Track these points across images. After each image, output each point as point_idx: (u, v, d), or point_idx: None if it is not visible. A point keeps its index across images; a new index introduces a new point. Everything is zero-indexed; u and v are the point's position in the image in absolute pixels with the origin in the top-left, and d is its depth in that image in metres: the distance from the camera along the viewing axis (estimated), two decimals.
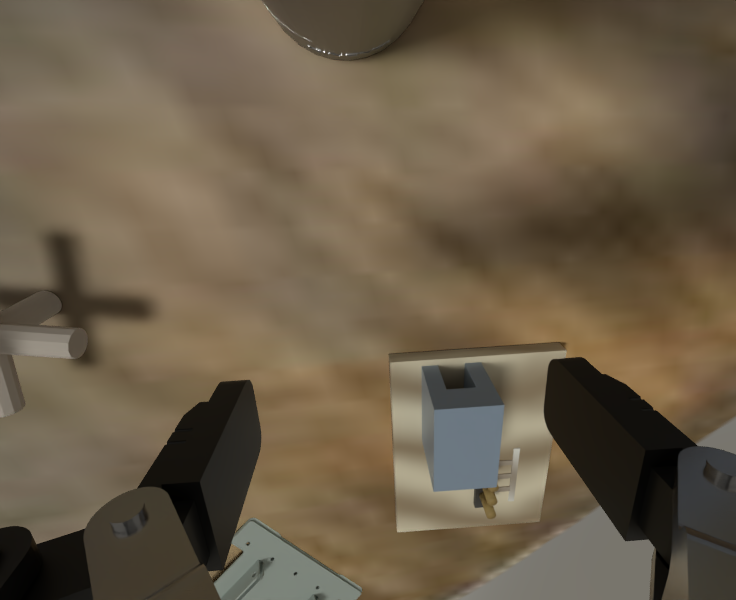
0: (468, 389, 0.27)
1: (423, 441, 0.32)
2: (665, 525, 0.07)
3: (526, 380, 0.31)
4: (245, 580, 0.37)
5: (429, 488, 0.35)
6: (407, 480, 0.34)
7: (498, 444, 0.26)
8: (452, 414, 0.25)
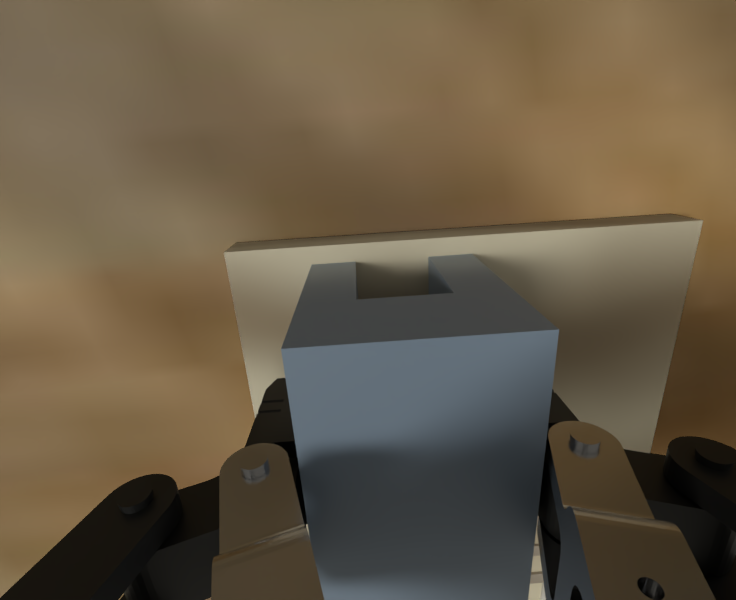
0: (427, 297, 0.08)
1: None
2: (541, 490, 0.08)
3: (591, 309, 0.12)
4: None
5: None
6: None
7: (532, 487, 0.07)
8: (357, 368, 0.07)
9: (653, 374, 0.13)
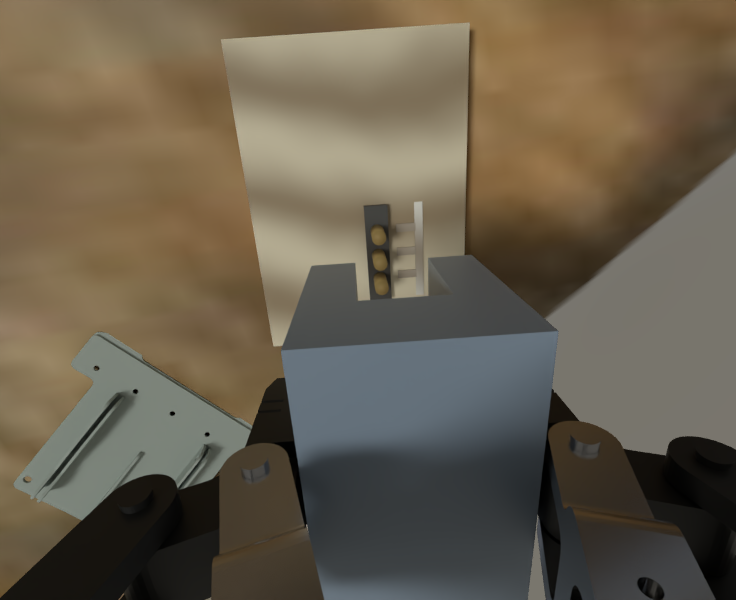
0: (427, 298, 0.08)
1: None
2: (541, 491, 0.08)
3: (418, 78, 0.22)
4: None
5: (306, 272, 0.26)
6: (275, 256, 0.25)
7: (531, 487, 0.08)
8: (356, 369, 0.07)
9: (459, 122, 0.23)
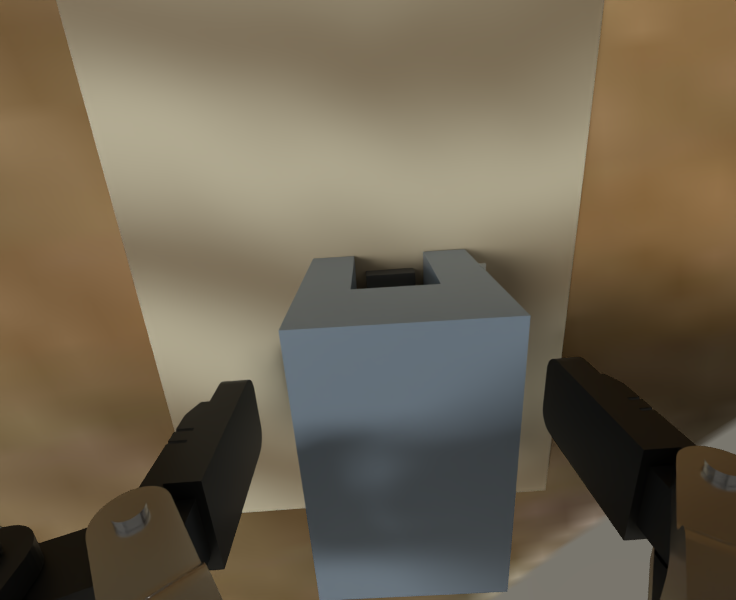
0: (416, 287, 0.09)
1: None
2: (663, 523, 0.07)
3: None
4: None
5: None
6: (190, 366, 0.13)
7: (509, 463, 0.08)
8: (347, 349, 0.07)
9: (574, 100, 0.11)
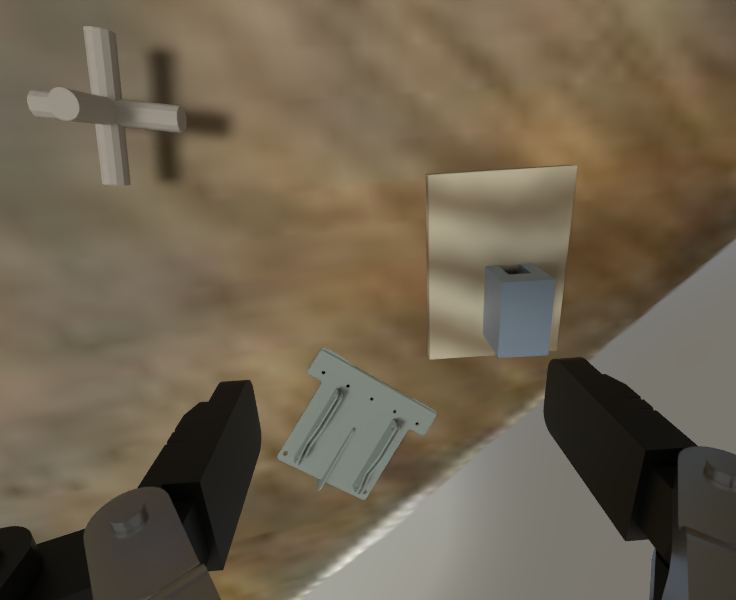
0: (526, 274, 0.35)
1: (484, 331, 0.39)
2: (664, 524, 0.07)
3: (543, 195, 0.36)
4: (328, 404, 0.41)
5: (459, 311, 0.39)
6: (440, 301, 0.39)
7: (550, 315, 0.34)
8: (516, 286, 0.33)
9: (566, 220, 0.37)
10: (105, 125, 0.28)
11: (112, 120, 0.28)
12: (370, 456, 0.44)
